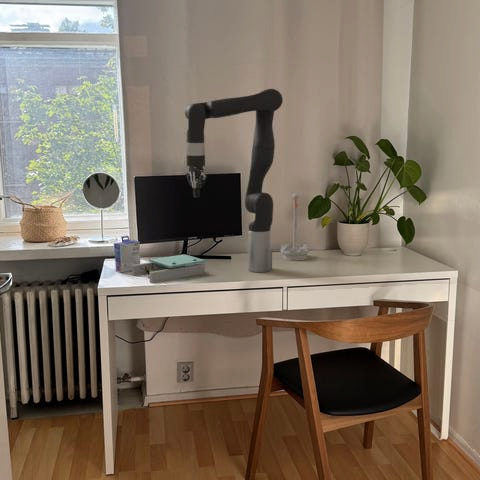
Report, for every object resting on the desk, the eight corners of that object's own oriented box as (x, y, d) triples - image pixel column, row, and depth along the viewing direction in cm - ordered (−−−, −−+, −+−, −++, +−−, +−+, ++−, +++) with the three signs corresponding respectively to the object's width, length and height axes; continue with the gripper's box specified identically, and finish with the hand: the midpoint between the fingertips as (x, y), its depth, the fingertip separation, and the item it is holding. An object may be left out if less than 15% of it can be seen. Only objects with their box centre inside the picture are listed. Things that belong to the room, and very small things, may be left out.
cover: (183, 255, 271) (183, 253, 271) (205, 262, 258) (205, 259, 258) (149, 261, 261) (149, 258, 261) (169, 267, 248) (169, 265, 248)
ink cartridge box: (134, 267, 271) (133, 234, 268) (141, 269, 267) (140, 236, 264) (114, 270, 265) (113, 237, 262) (121, 272, 261) (119, 239, 258)
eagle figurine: (137, 275, 251) (150, 275, 245) (142, 259, 253) (156, 258, 247) (150, 283, 256) (164, 282, 250) (156, 267, 258) (170, 266, 252)
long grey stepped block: (183, 266, 272) (183, 257, 272) (204, 273, 259) (204, 263, 258) (132, 274, 258) (131, 265, 257) (151, 282, 244) (151, 272, 244)
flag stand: (278, 255, 294) (278, 191, 288) (305, 254, 295) (306, 191, 289) (283, 261, 281) (283, 195, 275) (311, 260, 282) (312, 194, 276)
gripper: (212, 154, 246) (213, 198, 250) (194, 153, 257) (195, 195, 260) (196, 155, 242) (197, 199, 245) (179, 153, 252) (180, 196, 256)
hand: (196, 197), depth 253 cm, fingers closed
